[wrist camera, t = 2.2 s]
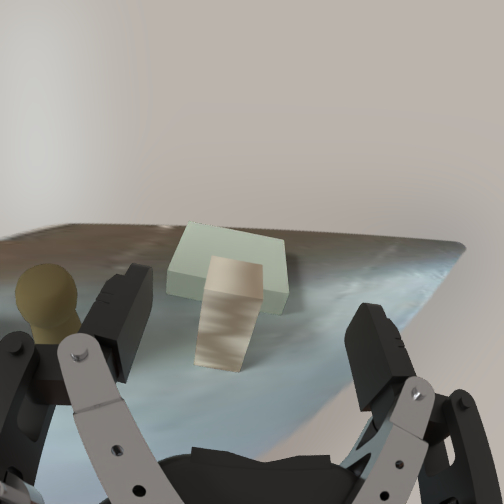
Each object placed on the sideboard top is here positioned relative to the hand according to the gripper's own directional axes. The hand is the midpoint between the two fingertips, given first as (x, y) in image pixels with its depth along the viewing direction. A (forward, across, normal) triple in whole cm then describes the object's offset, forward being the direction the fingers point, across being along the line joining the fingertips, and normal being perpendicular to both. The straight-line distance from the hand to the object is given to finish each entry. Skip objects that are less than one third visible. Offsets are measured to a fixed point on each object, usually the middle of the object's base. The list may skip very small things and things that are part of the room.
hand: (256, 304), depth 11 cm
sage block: (+24, 0, +18) cm, 30 cm away
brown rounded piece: (+5, +14, +17) cm, 23 cm away
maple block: (+11, 0, +17) cm, 21 cm away
